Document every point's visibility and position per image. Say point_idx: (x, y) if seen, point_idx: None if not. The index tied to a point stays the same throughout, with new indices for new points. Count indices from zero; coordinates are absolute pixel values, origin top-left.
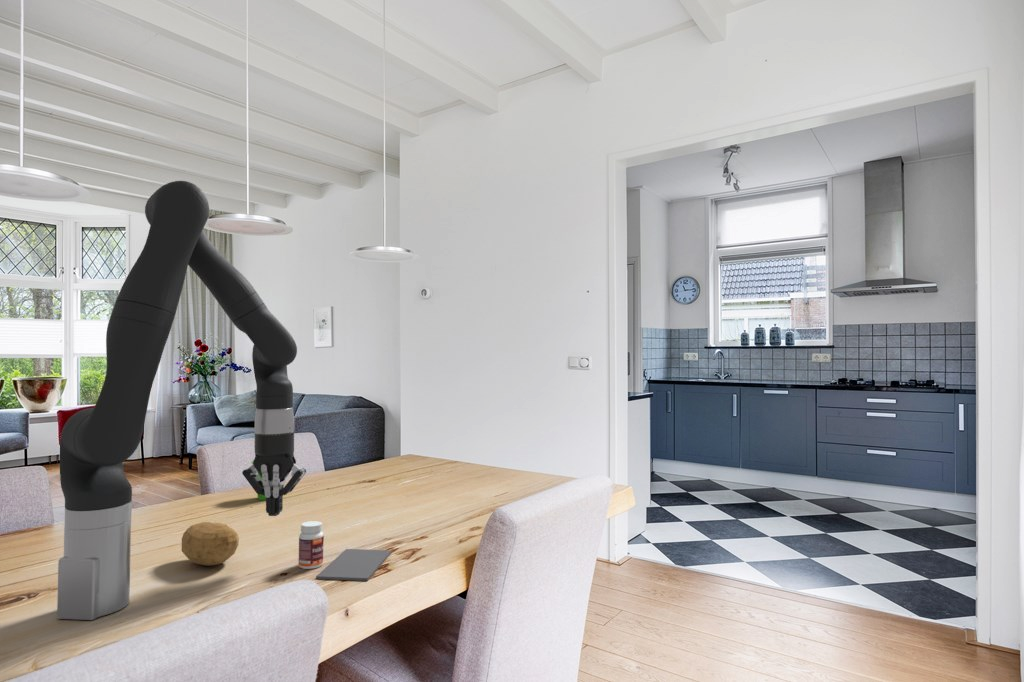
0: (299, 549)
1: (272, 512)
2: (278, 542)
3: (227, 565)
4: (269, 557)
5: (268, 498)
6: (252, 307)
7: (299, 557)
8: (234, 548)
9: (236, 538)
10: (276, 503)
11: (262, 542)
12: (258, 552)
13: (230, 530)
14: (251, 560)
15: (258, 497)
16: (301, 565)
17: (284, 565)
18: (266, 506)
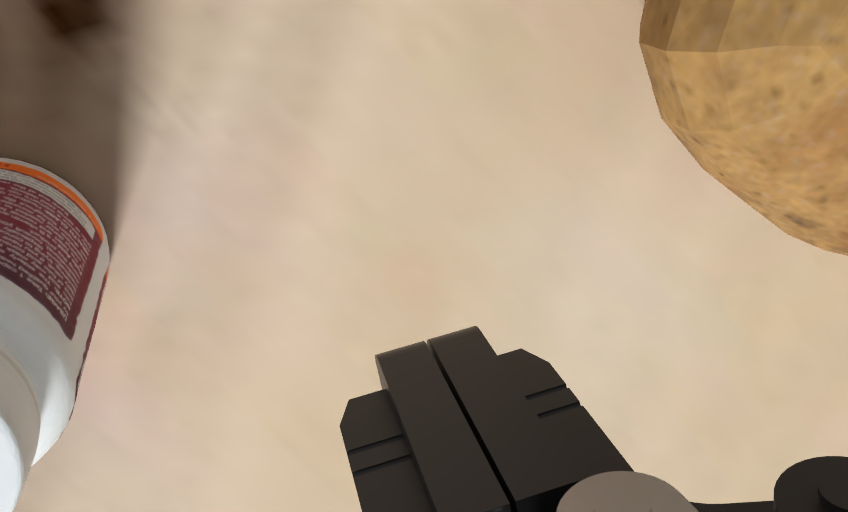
0: (23, 227)
1: (425, 362)
2: None
3: None
4: (452, 275)
5: (577, 479)
6: None
7: (31, 195)
8: (642, 29)
9: (679, 55)
10: (411, 483)
11: (671, 469)
12: (588, 324)
13: (790, 38)
14: (539, 181)
15: None
16: (8, 164)
17: (221, 177)
18: (567, 399)
